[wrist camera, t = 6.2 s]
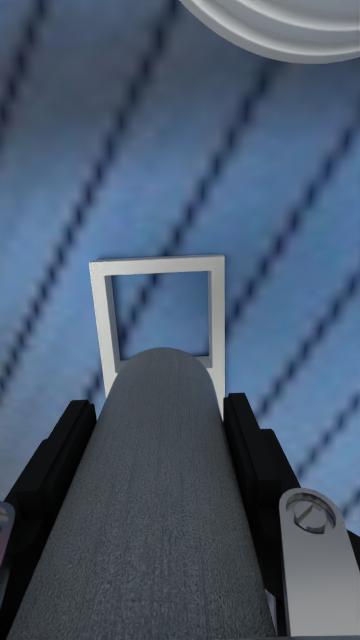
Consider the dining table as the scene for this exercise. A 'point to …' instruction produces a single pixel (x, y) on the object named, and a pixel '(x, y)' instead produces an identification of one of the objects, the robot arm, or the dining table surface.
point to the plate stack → (286, 27)
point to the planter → (151, 522)
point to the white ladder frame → (165, 264)
